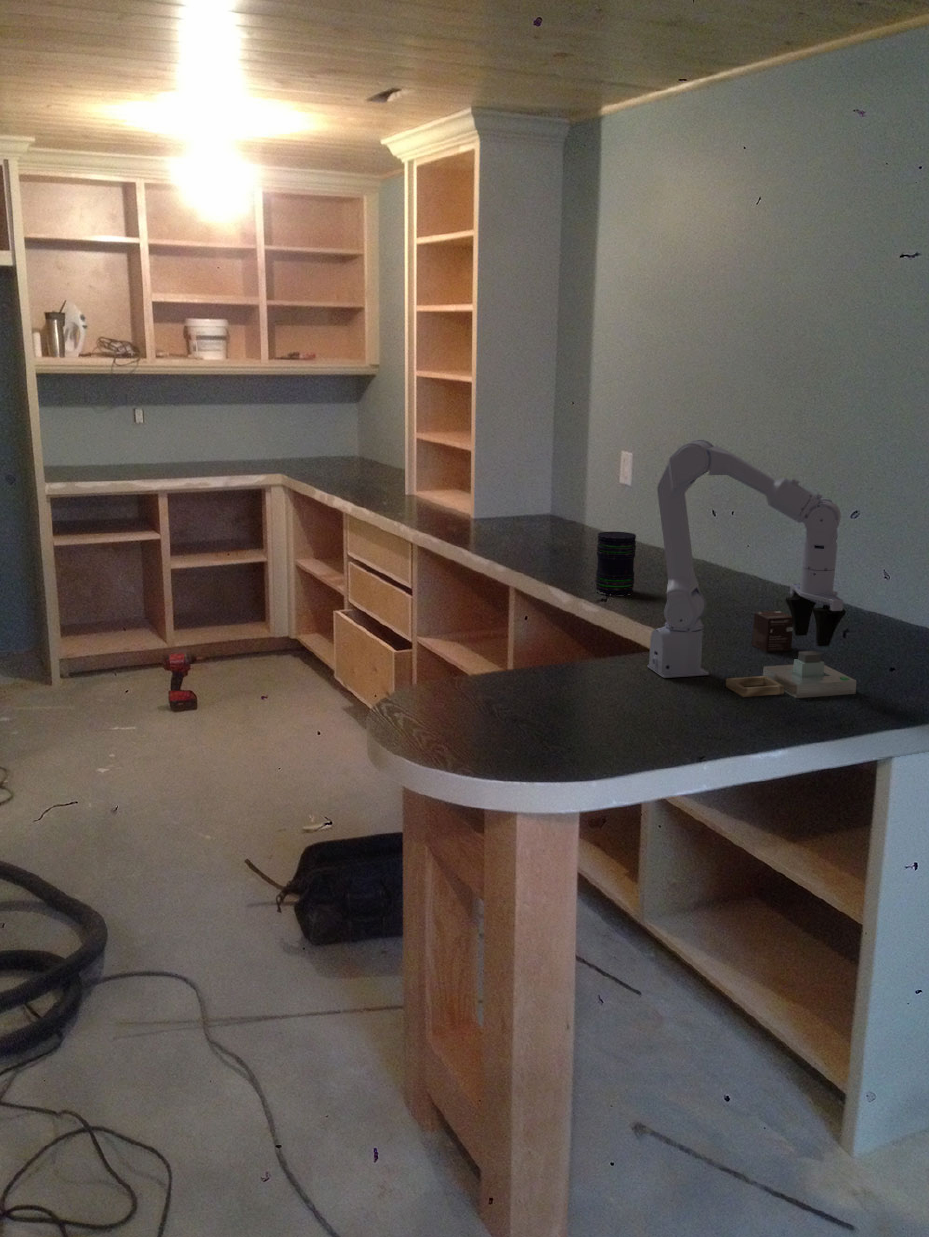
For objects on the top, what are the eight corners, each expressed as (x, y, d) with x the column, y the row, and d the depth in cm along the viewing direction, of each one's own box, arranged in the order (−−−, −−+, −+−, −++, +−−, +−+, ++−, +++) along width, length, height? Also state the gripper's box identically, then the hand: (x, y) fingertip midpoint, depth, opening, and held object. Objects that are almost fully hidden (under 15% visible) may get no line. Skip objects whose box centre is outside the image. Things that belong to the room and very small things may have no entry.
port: (796, 698, 198) (797, 683, 198) (762, 679, 209) (763, 665, 209) (855, 693, 201) (856, 679, 200) (819, 675, 212) (820, 661, 212)
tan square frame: (742, 696, 199) (743, 688, 198) (725, 686, 205) (726, 678, 204) (783, 694, 200) (784, 686, 200) (765, 683, 207) (765, 675, 206)
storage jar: (641, 594, 280) (643, 536, 277) (606, 597, 277) (609, 538, 273) (621, 587, 289) (624, 530, 286) (588, 589, 286) (590, 532, 282)
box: (765, 653, 228) (768, 618, 226) (750, 645, 233) (753, 611, 232) (791, 651, 229) (794, 616, 228) (776, 643, 235) (779, 610, 233)
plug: (800, 689, 203) (803, 655, 202) (791, 685, 206) (794, 651, 204) (822, 688, 204) (825, 654, 203) (813, 683, 207) (816, 650, 206)
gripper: (861, 574, 194) (853, 649, 197) (816, 559, 208) (809, 629, 211) (825, 576, 192) (818, 651, 196) (782, 560, 206) (776, 631, 209)
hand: (811, 640), depth 203 cm, fingers open, 7 cm apart
